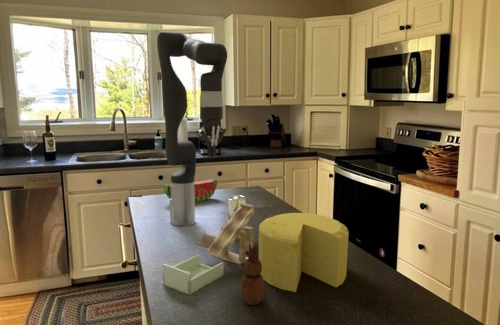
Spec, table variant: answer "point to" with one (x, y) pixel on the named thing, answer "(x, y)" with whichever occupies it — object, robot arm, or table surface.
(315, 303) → the table surface
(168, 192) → the fruit slice
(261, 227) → the cheese
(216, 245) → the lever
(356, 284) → the table surface
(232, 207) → the beer glass
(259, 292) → the wooden figurine
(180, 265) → the tray
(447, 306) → the table surface
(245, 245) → the fulcrum
